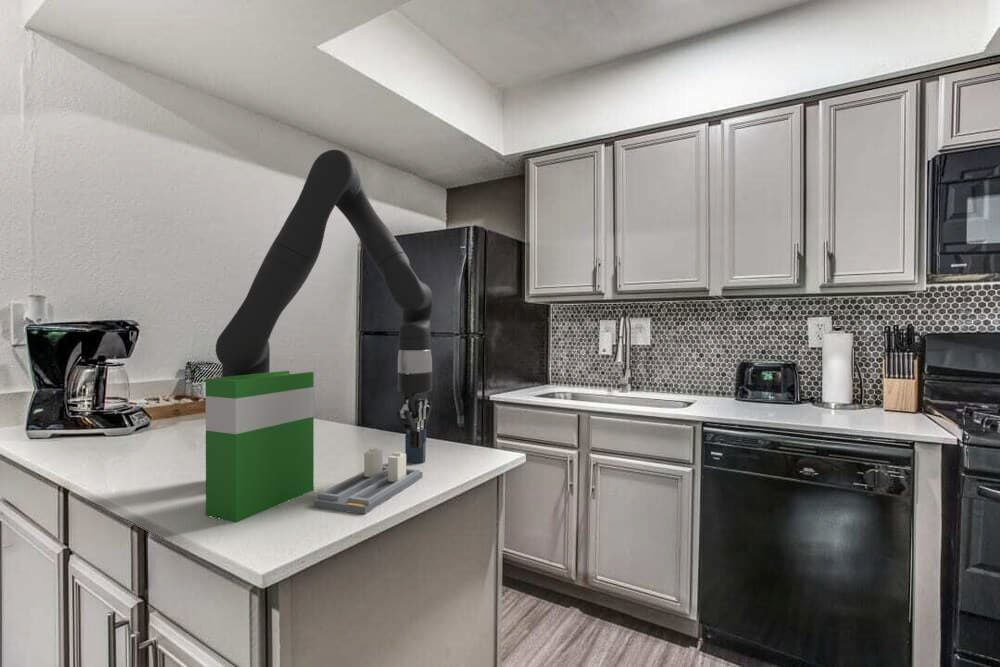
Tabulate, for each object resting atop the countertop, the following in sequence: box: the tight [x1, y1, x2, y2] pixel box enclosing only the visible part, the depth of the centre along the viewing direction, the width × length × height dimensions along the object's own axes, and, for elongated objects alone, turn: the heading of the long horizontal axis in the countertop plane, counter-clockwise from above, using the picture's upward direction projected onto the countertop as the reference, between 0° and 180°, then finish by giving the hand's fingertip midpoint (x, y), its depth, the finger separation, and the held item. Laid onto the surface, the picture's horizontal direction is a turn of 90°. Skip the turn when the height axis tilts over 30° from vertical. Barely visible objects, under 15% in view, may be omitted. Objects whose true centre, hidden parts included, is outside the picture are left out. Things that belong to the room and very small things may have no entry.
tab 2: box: [387, 451, 407, 482], centre depth 101 cm, size 2×4×6 cm, turn 162°
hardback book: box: [205, 370, 315, 523], centre depth 91 cm, size 18×7×24 cm, turn 157°
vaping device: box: [404, 425, 427, 464], centre depth 119 cm, size 3×5×12 cm, turn 79°
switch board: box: [313, 465, 424, 515], centre depth 98 cm, size 11×22×2 cm, turn 162°
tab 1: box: [363, 447, 383, 477], centre depth 104 cm, size 2×4×6 cm, turn 162°
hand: (416, 447), depth 108 cm, fingers closed
